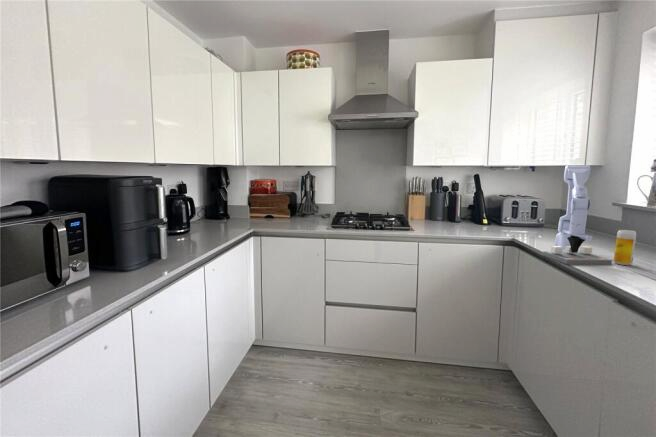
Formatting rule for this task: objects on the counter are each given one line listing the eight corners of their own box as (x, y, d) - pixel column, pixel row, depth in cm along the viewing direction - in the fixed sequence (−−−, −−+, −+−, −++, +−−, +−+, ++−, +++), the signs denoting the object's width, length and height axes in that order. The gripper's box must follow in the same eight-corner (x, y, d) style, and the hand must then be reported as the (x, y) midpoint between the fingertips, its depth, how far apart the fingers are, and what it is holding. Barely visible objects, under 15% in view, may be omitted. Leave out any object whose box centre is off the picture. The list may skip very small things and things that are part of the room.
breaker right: (579, 252, 147) (580, 246, 147) (587, 252, 147) (588, 246, 147) (583, 253, 145) (584, 247, 144) (591, 253, 145) (592, 247, 144)
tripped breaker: (564, 252, 147) (565, 246, 147) (572, 252, 147) (573, 246, 147) (568, 253, 145) (569, 247, 145) (576, 253, 145) (577, 247, 145)
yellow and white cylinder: (614, 261, 141) (618, 229, 139) (632, 264, 137) (637, 231, 135) (612, 263, 137) (616, 230, 135) (631, 266, 133) (636, 232, 131)
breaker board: (542, 255, 151) (543, 251, 150) (583, 255, 151) (583, 251, 151) (566, 264, 136) (567, 259, 136) (611, 264, 136) (612, 260, 136)
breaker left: (550, 252, 147) (551, 246, 147) (558, 252, 147) (558, 246, 147) (554, 253, 145) (555, 247, 144) (562, 253, 145) (562, 247, 144)
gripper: (557, 221, 149) (554, 248, 151) (582, 226, 135) (578, 256, 137) (572, 221, 149) (568, 248, 151) (598, 226, 135) (594, 256, 137)
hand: (574, 252), depth 144 cm, fingers closed
